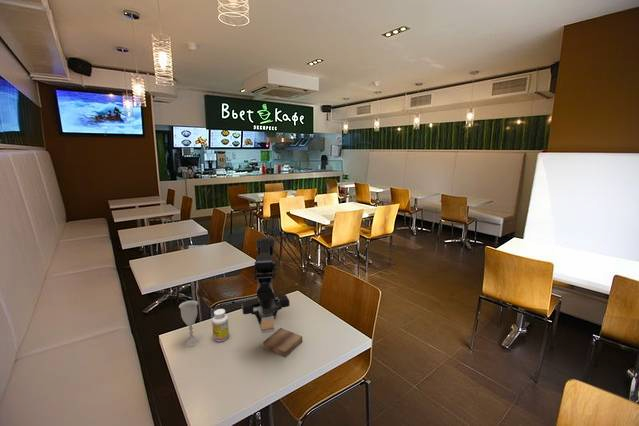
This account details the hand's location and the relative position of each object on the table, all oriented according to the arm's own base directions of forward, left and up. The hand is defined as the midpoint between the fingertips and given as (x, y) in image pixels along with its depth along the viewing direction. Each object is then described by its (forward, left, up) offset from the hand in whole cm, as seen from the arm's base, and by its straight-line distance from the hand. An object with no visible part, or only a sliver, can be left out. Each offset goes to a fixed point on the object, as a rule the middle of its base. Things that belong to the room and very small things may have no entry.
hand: (266, 322), depth 122 cm
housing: (0, 0, -2) cm, 2 cm away
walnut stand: (+4, +5, -12) cm, 14 cm away
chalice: (-30, -15, -12) cm, 35 cm away
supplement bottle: (-22, -6, -12) cm, 25 cm away
